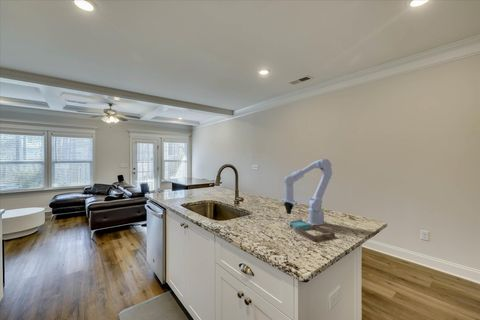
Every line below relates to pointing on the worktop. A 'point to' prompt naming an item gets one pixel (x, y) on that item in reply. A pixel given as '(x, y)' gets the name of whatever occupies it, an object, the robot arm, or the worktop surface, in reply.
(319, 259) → the worktop surface
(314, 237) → the dock
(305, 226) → the teal flat block
